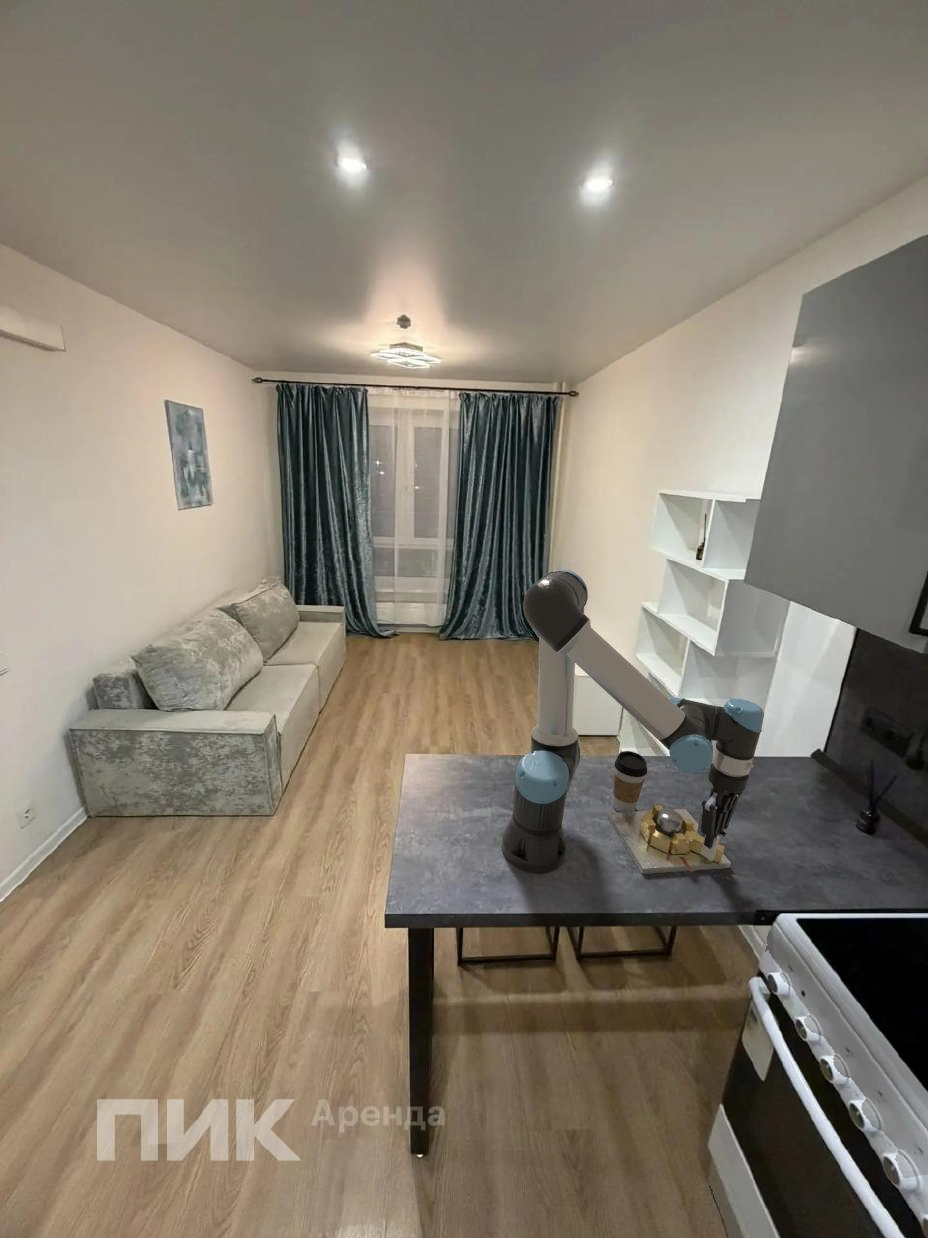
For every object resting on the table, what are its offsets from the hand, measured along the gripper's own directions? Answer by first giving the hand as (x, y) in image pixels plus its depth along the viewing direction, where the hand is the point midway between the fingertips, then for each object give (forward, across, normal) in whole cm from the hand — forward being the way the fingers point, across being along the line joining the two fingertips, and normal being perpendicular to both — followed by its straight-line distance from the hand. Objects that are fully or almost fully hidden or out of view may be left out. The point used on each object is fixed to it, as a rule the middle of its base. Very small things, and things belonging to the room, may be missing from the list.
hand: (707, 856), depth 116 cm
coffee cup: (+3, +1, +24) cm, 24 cm away
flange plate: (+3, -1, +10) cm, 10 cm away
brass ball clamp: (+1, 0, +7) cm, 7 cm away
